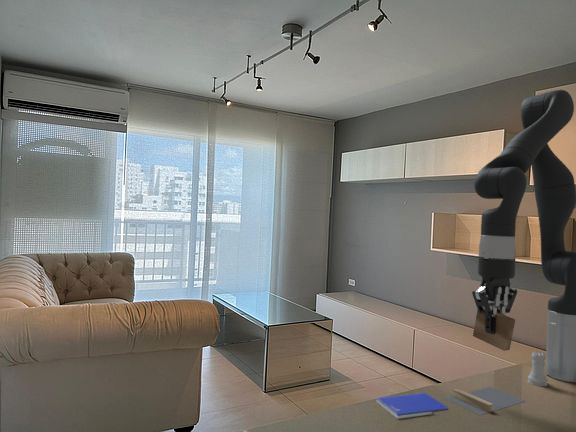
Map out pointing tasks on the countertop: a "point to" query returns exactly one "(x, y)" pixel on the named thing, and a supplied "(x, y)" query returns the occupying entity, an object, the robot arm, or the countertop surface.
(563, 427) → the countertop surface
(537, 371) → the rook chess piece
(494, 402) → the charcoal mat
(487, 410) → the beech rail
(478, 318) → the walnut board
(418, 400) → the hard drive
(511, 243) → the robot arm
